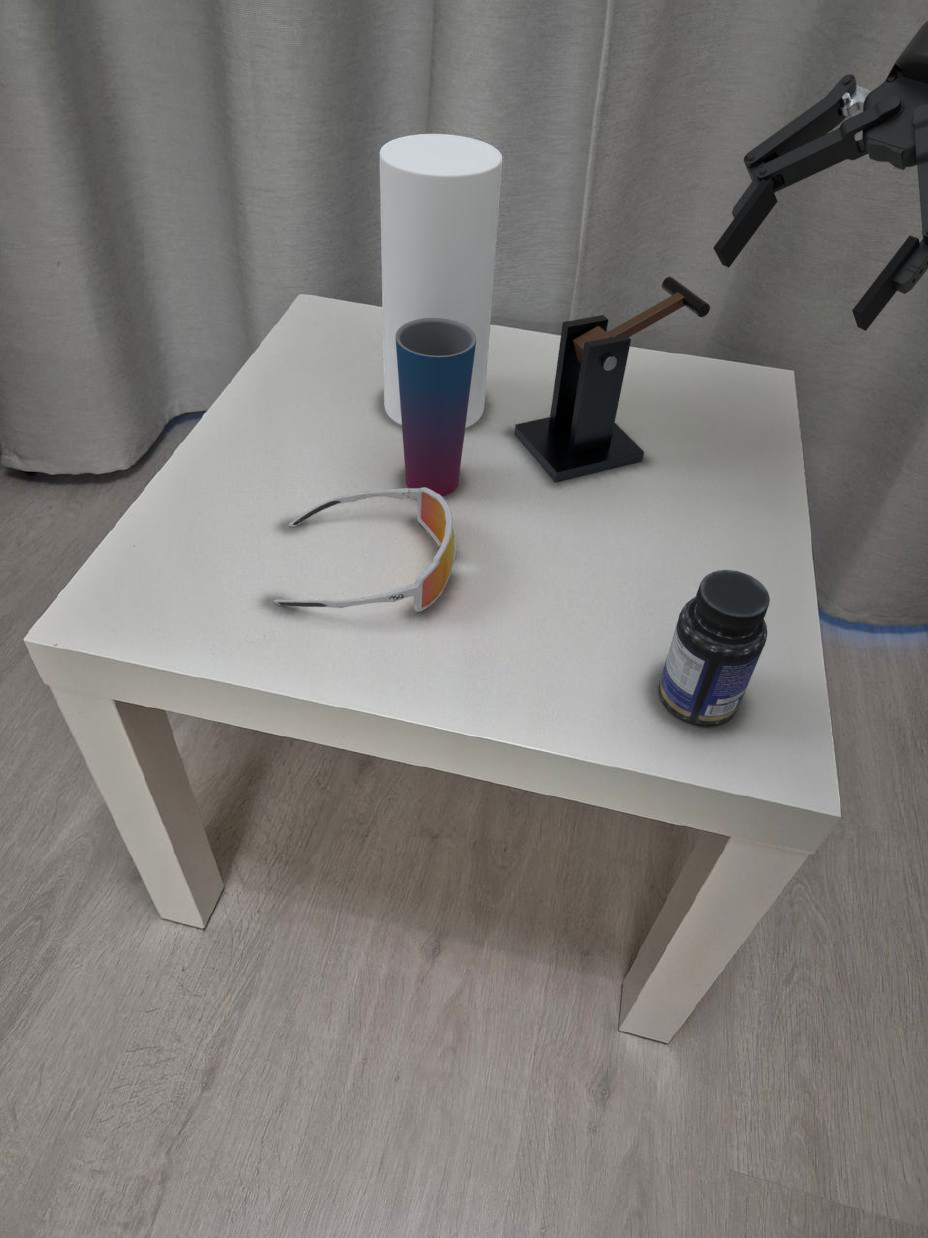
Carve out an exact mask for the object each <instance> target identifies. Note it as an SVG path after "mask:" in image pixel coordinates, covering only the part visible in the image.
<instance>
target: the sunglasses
mask: <svg viewBox="0 0 928 1238" xmlns="http://www.w3.org/2000/svg"><path fill="white" fill-rule="evenodd" d="M377 497H380V498H381V497H386V498H393V499H398V500H405V499H411V500H416V506H417V507H416V509H417V512H416V513H417V514H416V520H417V523H419V524H420V525H421V526H422V528H424V529H425V530H426V532H427V533H428V535H430V537H432V538H433V540H434V541H435V544H437V546H438V548H437V552H436V553H435V555H434V556H433V557H432V562H431V563H430V564H429V566H427V568H426V569H425V570H424V571H423V572H422V573H421V574H420V575H419V576H418V577H417V578H416V579H415V581H414V582H413V583H411V584H408V585H405V586H401V587H399V588H395V589H392V590H389V591H386V592H383V593H379V594H375V595H369V596H364V597H360V598H351V599H341V600H340V599H339V600H335V599H274V600H273V603H275V604H276V605H278V606H281V607H292V608H293V607H294V608H330V609H331V608H335V609H344V608H350V607H354V606H361V605H367V604H379V603H396V602H399V601H401V600H404V599H406V598H411V597H413V611H414V612H416V613H420V612H421V613H422V612H423V611H425V610H427V609H428V608H429V607H431V606H432V605H433V604H434V603H435V602H437V600H438V599H439V597H440V596H441V595H442V593H443V592H444V590H445V588H446V587H447V584H448V582H449V580H450V577H451V574H452V572H453V567H454V564H455V560H456V557H457V549H458V543H457V541H455V534H454V526H453V525H454V518H453V515H452V510H451V508H450V506H449V504H448V502H447V501H446V500H445V498H444V496H441V495H440V494H439V493H438V494H437V493H435V492H434V491H432V490H430V489H428V488H426V487H423V488H408V487H407V488H406V487H403V488H401V487H400V488H389V489H379V490H378V489H377V490H369V491H364V492H359V493H352V494H345V495H340V496H336V497H333V498H330V499H328V500H326V501H323V502H321V503H319V504H318V505H315V506H314V507H312V508H310V509H308V510H307V511H305V512H304V513H302V514H301V515H299V516H298V517H296V518H295V519H294V520H292V521H291V522H289V524H288V526H289V527H291V528H295V527H297V526H299V525H300V524H302V523H303V522H305V521H306V520H308V519H310V518H311V517H313V516H315V515H316V514H319V513H320V512H322V511H325V510H327V509H329V508H332V507H334V506H337V505H342V504H346V503H347V504H348V503H355V502H359V501H361V500H365V499H371V498H377Z"/></svg>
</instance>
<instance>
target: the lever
mask: <svg viewBox="0 0 928 1238" xmlns="http://www.w3.org/2000/svg"><path fill="white" fill-rule="evenodd" d="M661 288H662V290H664V292H665V293H667V294H669V297H667V298H665V299H663V300H661V301H660V302H658V303H656V304H654V305H653V306H651V307H649V308H647V309H645V310H644V311H642V312H640V313H638V314H637V315H635V316H632V317H631V318H630V319H628V320H626V321H624V322H623V323H620V324H619V325H617V326H615V327H613V328H612V329H610V330H607V332H605V331H604V330H603V329H602V328H601V327H599V326H597V327H595V328H594V329H592V330H590V331H588V332H587V333H585V334H583V335H581V336H579V337H578V338H576V339H574V340H573V342H574V347H575V351H576V355H577V360H578V361H579V362H580V363H581V362H582V356H583V349H584V343H585V342H589V341H594V340H600V339H605V338H610V337H615V336H621V335H627V336H628V337H629V338H630V337H632V336H634V335H636V334H639V333H640V332H641V331H643V330H645V329H647V328H648V327H650V326H652V325H654V324H656V323H657V322H659V321H661V320H663V319H664V318H667V317H668V316H669V315H671V314H674V312H676V311H678V310H681V309H682V308H684V307H685V308H687V309H688V310H690V312H692V313H693V314H695V315H696V316H697V317H699V318H705V317H706V316H707V315H708V314H709V313H710V310H711V305H710V304H709V303H708V302H707V301H705V300H704V299H703V298H701V297H700V296H698V295H697V294H696V293H695V292H693V291H691V290H690V289H689V288H688V287H686V286H685V285H684V284H682V283H681V282H679V281H678V280H677V279H675V278H674V277H673V276H667V277H665V278H664V279H663V281H662V283H661Z"/></svg>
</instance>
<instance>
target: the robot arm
mask: <svg viewBox="0 0 928 1238" xmlns="http://www.w3.org/2000/svg"><path fill="white" fill-rule="evenodd" d="M861 110H862V112H859V113H857V114H855V113H856V112H858V111H861ZM846 118H847V119H846ZM838 126H839V127H838ZM837 127H838V128H837ZM835 128H836V129H835ZM860 132H862V134H861V138H860V139H858V140H856V135H857V134H858V133H860ZM866 155H868V156H869V159H870V160H873V161H876V162H880V163H881V162H882V163H889V164H890V165H892V166H893V167H894V168H896V169H899V170H901V171H905V170H906V168H913V167H915V166H917V167H916V168H917V179H918V180H917V181H918V194H919V206H920V220H921V234H922V239H921V240H920V238H918V237H915V236H913V235H909V236H908V237H907V238H906V239H905V241H904V242H903V243H902V244H901V246H900V247H899V248H898V250H897V251H896V252H895V254H893V256H892V257H891V259H890V260H889V262H888V263H887V264H886V266H885V267H884V268H883V269H882V271H881V272H880V273H879V275H878V276H876V278H875V280H874V281H873V282H872V284H871V285H870V287H869V288H868V289H867V290H866V291H865V293H864V294H863V295H862V296H861V298H860V299H859V300H858V302H857V303H856V304H855V306H854V307H853V308H852V310H851V311H852V315H853V317H854V320H855V324H856V327H857V328H859V329H861V330H862V331H865V332H866V331H868V329H869V328H870V327H871V325H872V324H873V322H874V321H875V320H876V319H877V317H879V315H880V313H881V312H882V311H883V310H884V309H885V308H886V306H887V305H888V304H889V302H890V301H891V299H892V298H893V297H894V296H895V294H896V293H897V292H899V293H901V294H904V295H906V294H907V293H909V292H911V291H912V290H913V289H914V288H915V286H916V285H917V284H918V282H919V281H920V280H921V279H922V277H923V276H924V275H925V273H926V272H927V271H928V20H926V22H924V23H923V24H922V25H921V26H920V28H919V29H918V30H917V31H916V33H915V34H914V35H913V37H912V38H911V40H910V41H909V43H908V44H907V45H906V47H904V49H903V51H902V52H901V53H900V54H899V56H898V57H897V59H896V60H895V62H894V63H893V65H892V67H891V69H890V70H889V73H888V75H887V77H886V79H885V80H884V81H883V82H882V83H881V84H879V85H878V86H877V87H875V88H874V89H872V90H870V89H868V88H865V87H863V86H861V85H859V84H857V80H856V75H854V74H850V73H849V74H846V75H844V76H843V77H841V79H839V81H838V82H837V83H836V84H835V85H834V86H833V87H832V89H831V90H830V91H829V92H828V93H827V95H826V96H825V97H823V98H822V99H821V100H819V101H818V102H817V103H815V104H814V105H812V106H811V107H810V108H808V109H807V110H805V111H804V112H802V113H801V114H800V115H798V116H797V117H796V118H794V119H793V120H791V121H790V122H788V123H787V124H786V125H784V126H783V127H781V129H779V130H778V131H776V132H774V133H773V134H772V135H770V136H769V137H767V138H766V139H765V140H764V141H762V142H761V143H759V144H758V145H757V146H755V147H754V148H752V149H750V151H749V152H747V153H746V154H745V155H744V157H743V164H744V167H746V170H747V173H748V176H749V177H750V179H751V182H750V184H749V185H748V186H747V188H746V189H745V191H744V192H743V193H742V195H741V197H739V199H738V201H736V203H735V204H734V206H733V208H732V211H731V214H732V217H733V219H732V221H731V222H730V224H729V225H728V226H727V228H726V229H725V231H724V232H723V233H722V235H721V236H720V238H719V239H718V241H716V243H715V244H714V246H713V247H712V248H713V251H714V252H715V254H716V256H717V257H718V259H719V261H720V263H721V265H722V266H724V267H726V268H730V267H731V266H732V265H733V264H734V262H735V260H736V259H737V258H738V256H739V255H740V254H741V253H742V251H743V250H744V248H745V247H746V246H747V244H748V243H749V241H750V240H751V238H752V237H753V236H754V235H755V233H756V232H757V231H758V229H759V228H760V226H761V225H762V224H763V222H764V221H765V220H766V218H767V217H768V215H770V213H771V212H772V210H773V209H774V207H775V206H776V204H777V203H778V202H779V201H778V199H777V195H776V193H777V192H780V191H781V190H783V189H785V188H788V187H790V186H792V185H795V184H797V183H799V182H801V181H803V180H805V179H808V178H810V177H812V176H814V175H816V174H818V173H821V172H823V171H825V170H827V169H829V168H832V167H833V166H836V165H838V164H840V163H842V162H845V161H847V160H850V161H856V160H858V159H861V158H863V157H864V156H866Z"/></svg>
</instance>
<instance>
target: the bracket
mask: <svg viewBox="0 0 928 1238" xmlns="http://www.w3.org/2000/svg"><path fill="white" fill-rule="evenodd" d="M608 325H609V318H608V317H606V316H605V315H604V314H600V315H595V316H589V317H583V318H579V319H573V320H572V319H571V320H566V321H563V322H562V325H561V326H562V327H561V333H560V342H559V348H558V356H557V363H556V369H555V376H554V383H553V393H552V400H551V405H550V406H551V407H550V413H549V416H547V417H542V418H539V419H533V420H530V421H525V422H520V423H516V424H514V432H513V434H514V436H515V437H516V438H517V439H518V440H519V441H520V442H521V444H522V445H523V446H524V447H525V448H526V449H527V451H528V452H529V453H530V454H531V456H532V457H533V458H534V459H535V460H536V461H537V462H538V464H539V465H540V466H541V467H542V469H544V471H545V472H546V473H547V474H548V476H550V478H551V479H552V481H554V483H560V482H563V481H567V480H572V479H575V478H581V477H584V476H589V475H593V474H597V473H600V472H605V471H608V470H613V469H617V468H620V467H625V466H629V465H633V464H638V463H641V462H643V460H644V455H645V451H644V450H643V449H642V448H641V447H640V446H639V445H638V443H636V442H635V441H634V440H633V438H631V437H630V435H628V434H627V433H626V432H625V431H624V430H623V429H622V427H620V426H619V425H618V424H617V423H616V419H617V414H618V409H619V405H620V404H619V403H620V397H621V393H622V389H623V382H624V377H625V373H626V367H627V363H628V362H627V361H628V358H629V354H630V353H629V352H630V349H631V341H632V339H631V338H630V337H628V336H627V335H621V336H615V337H610V338H605V339H600V340H594V341H589V342H585V343H584V349H583V356H582V362H581V363H580V362H579V361H578V360H577V355H576V351H575V347H574V342H573V340H574V339H576V338H578V337H579V336H581V335H583V334H585V333H587V332H588V331H590V330H592V329H594V328H595V327H597V326H599V327H601V328H602V329H603V330H604V331H605V332H606V333H607V332H608Z"/></svg>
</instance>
